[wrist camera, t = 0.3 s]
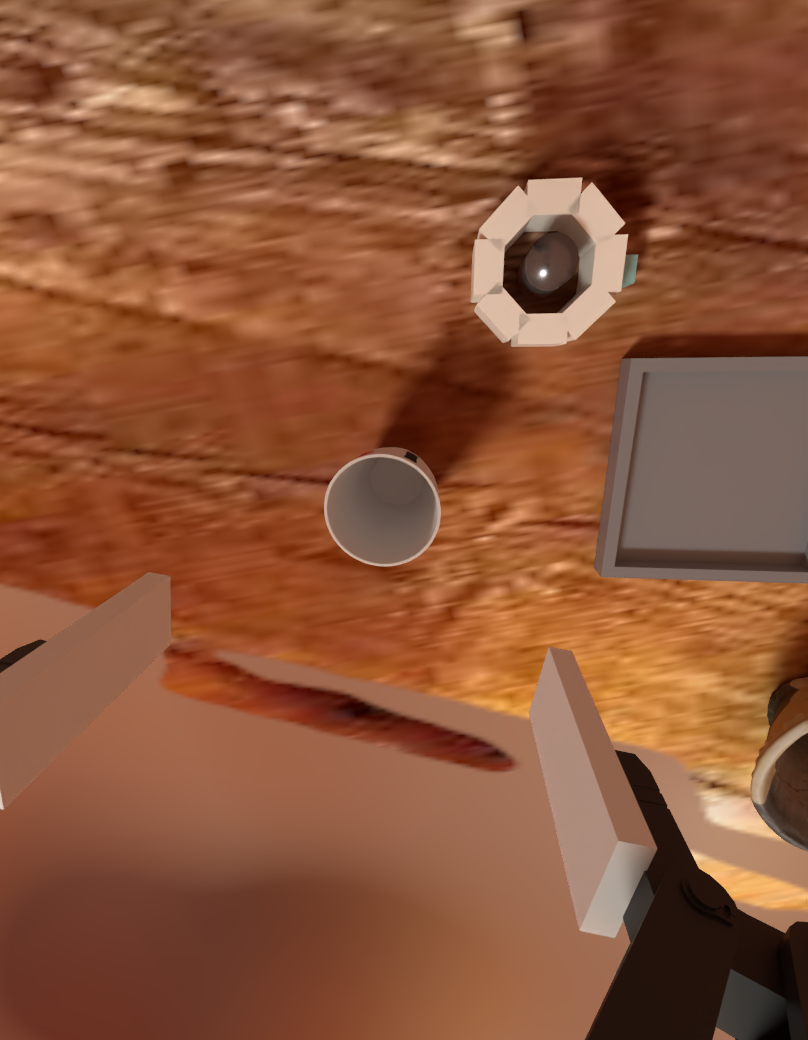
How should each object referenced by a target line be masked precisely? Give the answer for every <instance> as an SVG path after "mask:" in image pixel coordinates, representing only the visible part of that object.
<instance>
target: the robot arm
mask: <svg viewBox="0 0 808 1040" xmlns="http://www.w3.org/2000/svg"><path fill="white" fill-rule="evenodd" d="M170 644H171V603H170V576H166V575H161V574H156V573H150V572H148V573H147V574H145V575H144V576H142V577H141V578H139V579H138V580H137V581H135V582H134V583H132V584H131V585H129V586H128V587H126V588H125V589H123V590H122V591H120V592H119V593H117V594H116V595H114V596H113V597H112V598H110V599H109V600H107V601H106V602H104V603H103V604H101V605H100V606H98V607H97V608H95V609H94V610H92V611H91V612H90V613H88V614H87V615H85V616H84V617H82V618H81V619H79V620H78V621H76V622H75V623H73V624H72V625H70V626H69V627H67V628H66V629H64V630H63V631H62V632H60V633H59V634H57V635H56V636H54V637H53V638H51V639H50V640H48V641H44V640H38V641H35V642H33V643H30V644H27V645H25V646H22V647H20V648H17V649H15V650H14V651H12V652H11V653H9V654H8V655H6V656H5V657H3V658H2V659H0V809H5V808H6V807H7V806H8V805H9V804H10V803H11V802H12V801H13V800H14V799H15V798H16V797H17V796H18V795H19V794H20V793H21V792H22V791H23V790H24V789H25V788H26V787H27V786H28V785H29V784H30V783H31V782H32V781H33V780H34V779H35V778H36V777H37V776H38V775H39V774H40V773H41V772H42V771H43V770H44V769H45V768H46V767H47V766H48V765H49V764H50V763H51V762H52V761H53V760H54V759H55V758H56V757H57V756H58V755H59V754H60V753H61V752H62V751H63V750H64V749H65V748H66V747H67V746H68V745H69V744H70V743H71V742H72V741H73V740H74V739H75V738H76V737H77V736H79V735H80V733H82V731H83V730H85V729H86V728H87V726H89V725H90V724H91V723H92V722H93V721H94V720H95V719H96V718H97V717H98V716H99V715H100V714H101V713H102V712H103V711H104V710H105V709H106V708H107V707H108V706H109V705H110V704H111V703H112V702H113V701H114V700H115V699H116V698H117V697H118V696H119V695H120V694H121V693H122V692H123V691H124V690H125V689H126V688H127V687H128V686H129V685H130V684H131V683H132V682H133V681H134V680H135V679H136V678H137V677H138V676H139V675H140V674H141V673H142V672H143V671H144V670H145V669H146V668H147V667H148V666H149V665H150V664H151V663H152V662H153V661H154V660H155V659H156V658H157V657H158V656H159V655H160V654H161V653H162V652H163V651H164V650H165V649H166V648H167V647H168V646H169V645H170ZM529 715H530V719H531V724H532V728H533V732H534V736H535V741H536V745H537V749H538V754H539V758H540V762H541V766H542V771H543V775H544V780H545V784H546V788H547V792H548V797H549V801H550V805H551V810H552V814H553V819H554V823H555V827H556V831H557V835H558V840H559V844H560V849H561V853H562V857H563V862H564V866H565V870H566V875H567V879H568V883H569V887H570V892H571V896H572V901H573V905H574V909H575V913H576V918H577V922H578V926H579V930H580V931H584V932H589V933H593V934H598V935H603V936H607V937H613V938H615V937H616V934H617V933H618V930H619V928H620V926H621V924H622V922H623V920H624V923H625V926H626V929H627V932H628V936H629V939H630V942H631V943H630V945H629V947H628V949H627V951H626V954H625V956H624V957H623V960H622V962H621V964H620V966H619V968H618V970H617V972H616V975H615V977H614V979H613V982H612V983H611V985H610V988H609V990H608V992H607V994H606V996H605V998H604V1000H603V1002H602V1005H601V1007H600V1009H599V1011H598V1013H597V1015H596V1017H595V1019H594V1021H593V1024H592V1026H591V1028H590V1030H589V1032H588V1034H587V1036H586V1039H585V1040H712V1039H713V1035H714V1031H715V1027H717V1028H719V1029H721V1030H722V1031H724V1032H726V1033H727V1034H729V1035H731V1036H732V1037H734V1038H735V1040H808V922H795V923H794V924H793V925H791V926H790V927H789V929H788V930H787V932H786V933H783V932H781V931H779V930H777V929H775V928H773V927H771V926H769V925H767V924H765V923H763V922H761V921H759V920H757V919H755V918H753V917H751V916H749V915H747V914H746V913H744V912H742V911H741V910H739V909H737V907H736V904H735V902H734V901H733V899H732V898H731V897H730V895H729V894H728V893H727V891H726V890H725V889H724V888H723V887H722V886H721V885H720V884H719V883H718V882H717V881H716V880H715V879H713V878H712V877H711V876H710V875H708V874H707V873H705V872H703V871H702V870H700V869H699V868H698V866H697V864H696V862H695V860H694V858H693V856H692V854H691V852H690V850H689V848H688V846H687V844H686V842H685V840H684V838H683V836H682V834H681V832H680V830H679V828H678V826H677V824H676V822H675V820H674V818H673V816H672V814H671V812H670V810H669V809H667V804H666V802H665V800H664V798H663V796H662V794H661V793H660V792H659V791H660V790H659V788H658V786H657V784H656V782H655V780H654V778H653V776H652V774H651V772H650V770H649V769H648V768H647V767H646V766H645V765H644V764H643V763H642V762H641V760H640V759H639V758H638V757H637V756H636V755H635V754H632V753H627V752H622V751H617V750H614V747H613V745H612V743H611V740H610V738H609V736H608V733H607V731H606V729H605V727H604V724H603V722H602V720H601V717H600V715H599V713H598V710H597V708H596V706H595V703H594V701H593V699H592V697H591V694H590V692H589V690H588V687H587V685H586V683H585V680H584V678H583V676H582V674H581V671H580V669H579V667H578V664H577V662H576V660H575V657H574V655H573V653H572V651H569V650H563V649H558V648H552V647H549V648H548V651H547V655H546V658H545V661H544V665H543V668H542V671H541V675H540V678H539V681H538V684H537V688H536V691H535V694H534V698H533V701H532V704H531V707H530V711H529Z"/></svg>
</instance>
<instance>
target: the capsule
mask: <svg viewBox="0 0 808 1040" xmlns="http://www.w3.org/2000/svg"><path fill="white" fill-rule="evenodd" d="M578 257H579V256H578V249H577V246H576V244H575V243H574V241H573V240H572V239H571V238H570V237H569V236H567V235H566V234H563V233H558V232H554V233H549V234H546V235H544V236H543V237H541V238H540V239H539V240H538V241H537V242H536V243H535V244H534V245H533V247H532V248H531V250H530V251H529V253H528V254H527V256H526V257H525V259H524V260H523V261H522V263H521V264H520V266H519V268H518V271H517V275H516V282H517V286H518V289H519V291H520V292H521V293H522V294H523V295H524V296H525V297H527V298H529V299H533V300H538V299H542V298H545V297H547V296H548V295H549V294H551V293H552V292H553V291H555V290H556V289H558V288H559V287H560V286H562V285H563V284H564V283H566V282H567V281H568V280H569V279H570V278H571V277H572V275H573V274H574V272H575V270H576V268H577V265H578Z"/></svg>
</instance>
